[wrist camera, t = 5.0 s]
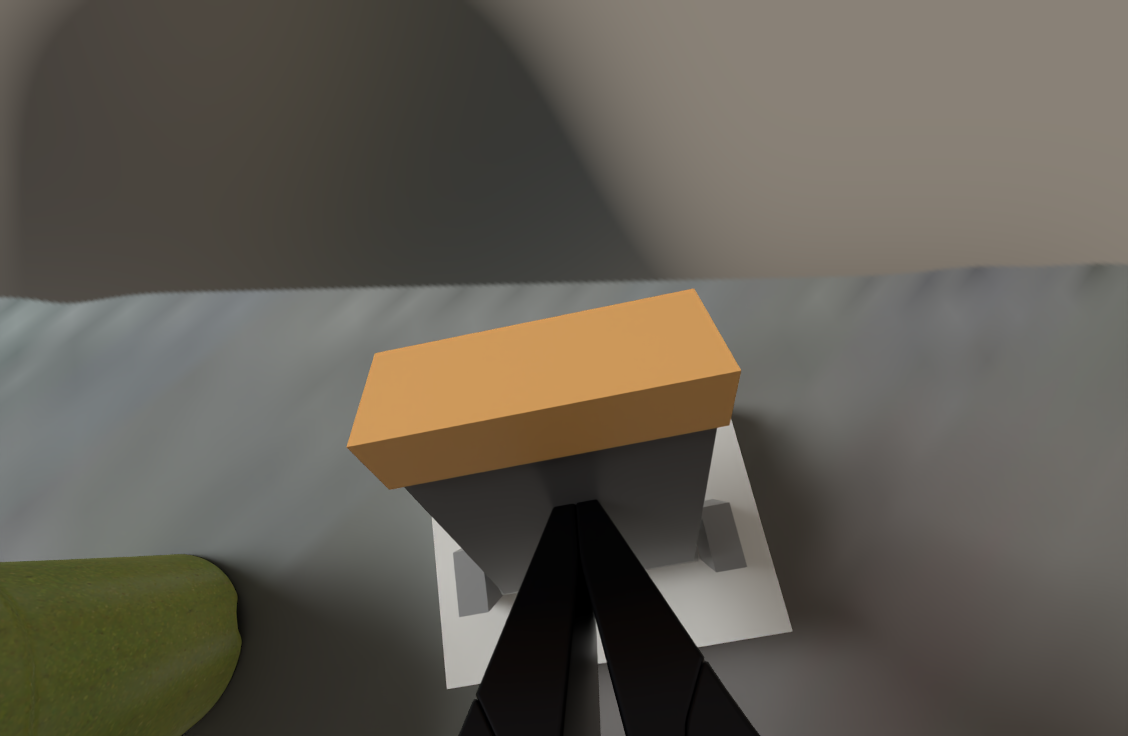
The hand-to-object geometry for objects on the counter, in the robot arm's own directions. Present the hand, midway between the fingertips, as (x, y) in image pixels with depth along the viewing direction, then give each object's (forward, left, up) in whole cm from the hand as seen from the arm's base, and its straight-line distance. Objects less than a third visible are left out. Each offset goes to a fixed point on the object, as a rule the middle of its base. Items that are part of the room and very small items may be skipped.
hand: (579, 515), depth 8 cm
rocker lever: (-1, +1, -4) cm, 4 cm away
